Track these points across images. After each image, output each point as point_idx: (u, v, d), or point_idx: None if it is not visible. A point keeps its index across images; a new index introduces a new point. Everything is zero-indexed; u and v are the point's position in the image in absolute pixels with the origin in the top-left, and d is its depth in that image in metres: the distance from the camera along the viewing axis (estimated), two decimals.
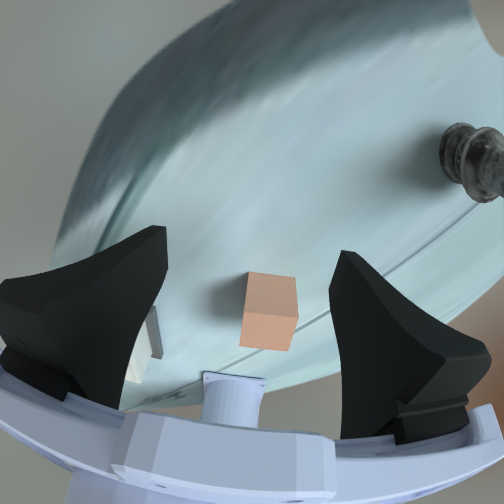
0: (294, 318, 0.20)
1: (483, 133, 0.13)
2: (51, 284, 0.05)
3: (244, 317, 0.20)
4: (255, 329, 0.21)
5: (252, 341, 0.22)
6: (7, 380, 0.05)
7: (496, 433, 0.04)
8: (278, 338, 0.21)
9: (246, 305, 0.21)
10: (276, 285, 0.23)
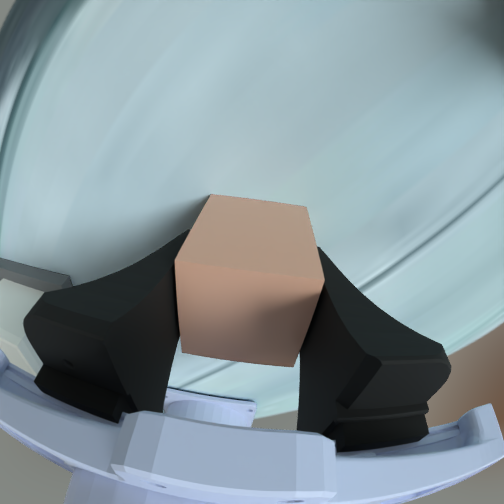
0: (313, 281, 0.07)
1: None
2: (101, 296, 0.05)
3: (179, 278, 0.08)
4: (212, 313, 0.08)
5: (209, 343, 0.09)
6: (7, 380, 0.05)
7: (496, 433, 0.04)
8: (270, 337, 0.09)
9: (186, 247, 0.08)
10: (266, 215, 0.10)
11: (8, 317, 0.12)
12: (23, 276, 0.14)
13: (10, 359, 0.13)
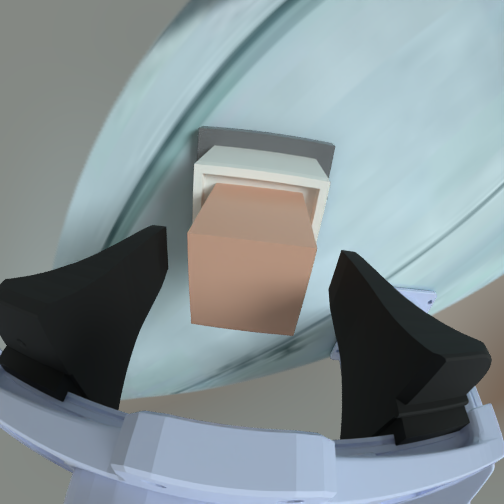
0: (307, 249, 0.09)
1: None
2: (51, 283, 0.05)
3: (190, 249, 0.09)
4: (219, 282, 0.09)
5: (216, 312, 0.10)
6: (7, 380, 0.05)
7: (496, 433, 0.04)
8: (271, 304, 0.10)
9: (197, 223, 0.09)
10: (266, 199, 0.12)
11: (279, 165, 0.13)
12: (270, 137, 0.15)
13: None
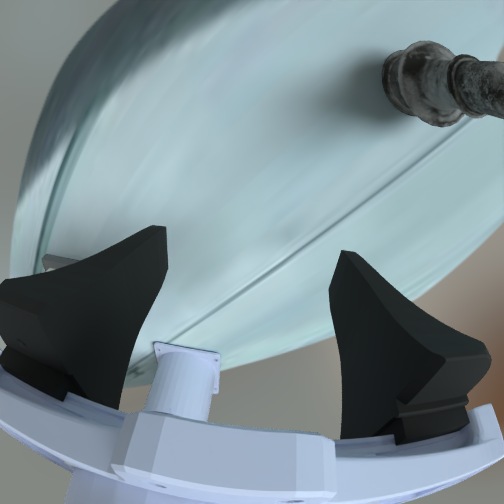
0: None
1: (422, 46, 0.11)
2: (50, 284, 0.05)
3: None
4: None
5: None
6: (7, 380, 0.05)
7: (497, 433, 0.04)
8: None
9: None
10: None
11: None
12: None
13: None
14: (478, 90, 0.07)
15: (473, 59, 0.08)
